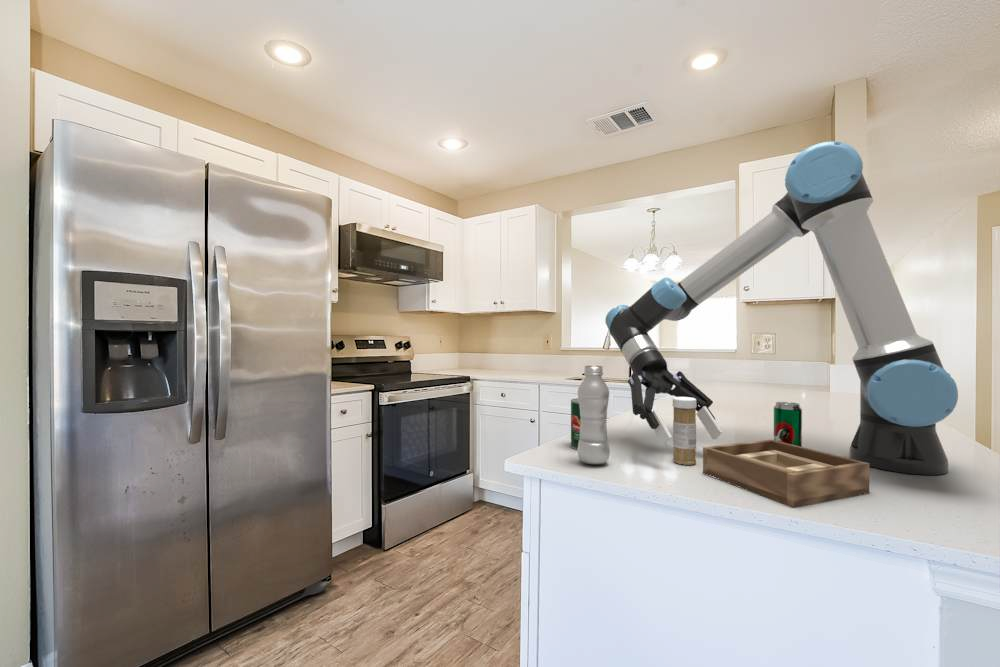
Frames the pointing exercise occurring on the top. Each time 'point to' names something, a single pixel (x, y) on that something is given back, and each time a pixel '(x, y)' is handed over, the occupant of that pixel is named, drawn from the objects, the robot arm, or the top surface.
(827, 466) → the socket tray
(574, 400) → the canned tomato
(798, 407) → the soda can
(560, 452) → the top surface
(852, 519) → the top surface
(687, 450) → the sprinkles bottle
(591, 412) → the plastic bottle
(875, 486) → the top surface
